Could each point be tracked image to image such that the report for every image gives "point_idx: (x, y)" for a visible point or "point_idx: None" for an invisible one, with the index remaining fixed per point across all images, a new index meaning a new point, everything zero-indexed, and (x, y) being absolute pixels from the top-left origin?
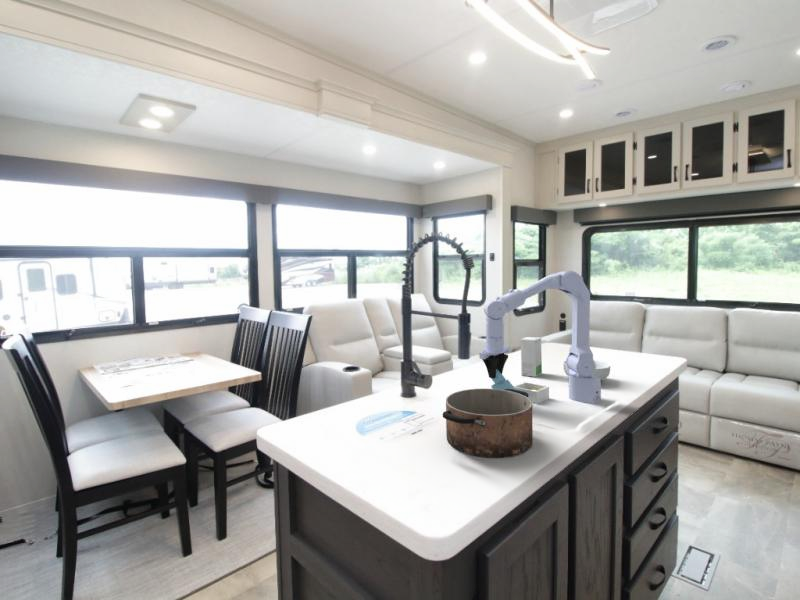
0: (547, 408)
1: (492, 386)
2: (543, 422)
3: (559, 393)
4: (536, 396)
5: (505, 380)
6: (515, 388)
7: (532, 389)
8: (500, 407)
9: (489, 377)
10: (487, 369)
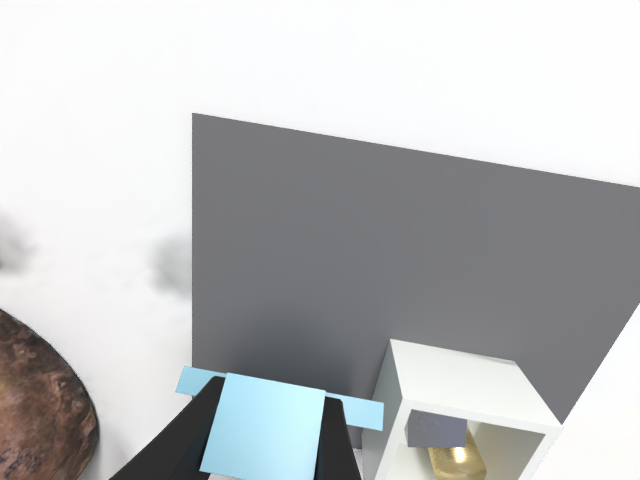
0: (359, 461)
1: (184, 378)
2: (213, 474)
3: (606, 463)
4: (364, 477)
5: (348, 424)
6: (395, 407)
7: (455, 458)
8: (11, 461)
9: (211, 379)
10: (143, 453)
